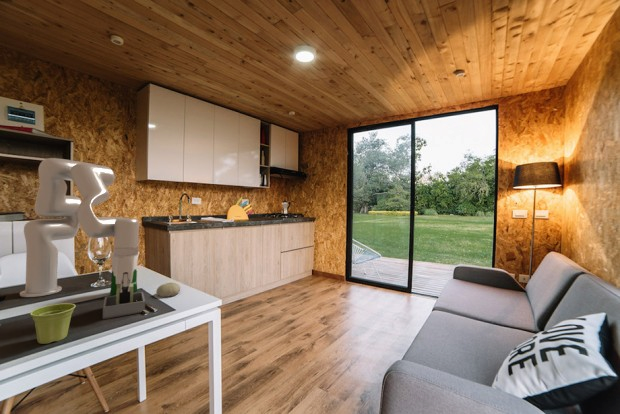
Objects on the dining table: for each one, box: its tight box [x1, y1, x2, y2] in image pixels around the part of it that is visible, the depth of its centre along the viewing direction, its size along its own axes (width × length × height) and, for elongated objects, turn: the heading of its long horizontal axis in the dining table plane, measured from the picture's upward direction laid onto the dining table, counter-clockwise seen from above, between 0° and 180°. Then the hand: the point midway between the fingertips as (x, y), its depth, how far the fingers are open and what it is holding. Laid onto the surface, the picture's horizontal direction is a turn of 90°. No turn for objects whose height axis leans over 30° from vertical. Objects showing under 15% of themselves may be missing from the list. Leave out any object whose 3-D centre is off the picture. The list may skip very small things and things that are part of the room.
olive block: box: [115, 283, 133, 305], centre depth 99 cm, size 5×5×6 cm
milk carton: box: [109, 251, 140, 296], centre depth 117 cm, size 9×9×20 cm
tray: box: [102, 291, 146, 320], centre depth 99 cm, size 12×12×4 cm
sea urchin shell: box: [156, 282, 181, 298], centre depth 117 cm, size 9×8×8 cm
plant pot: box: [30, 302, 77, 345], centre depth 77 cm, size 9×9×9 cm
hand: (124, 299), depth 99 cm, fingers closed on olive block, 5 cm apart
